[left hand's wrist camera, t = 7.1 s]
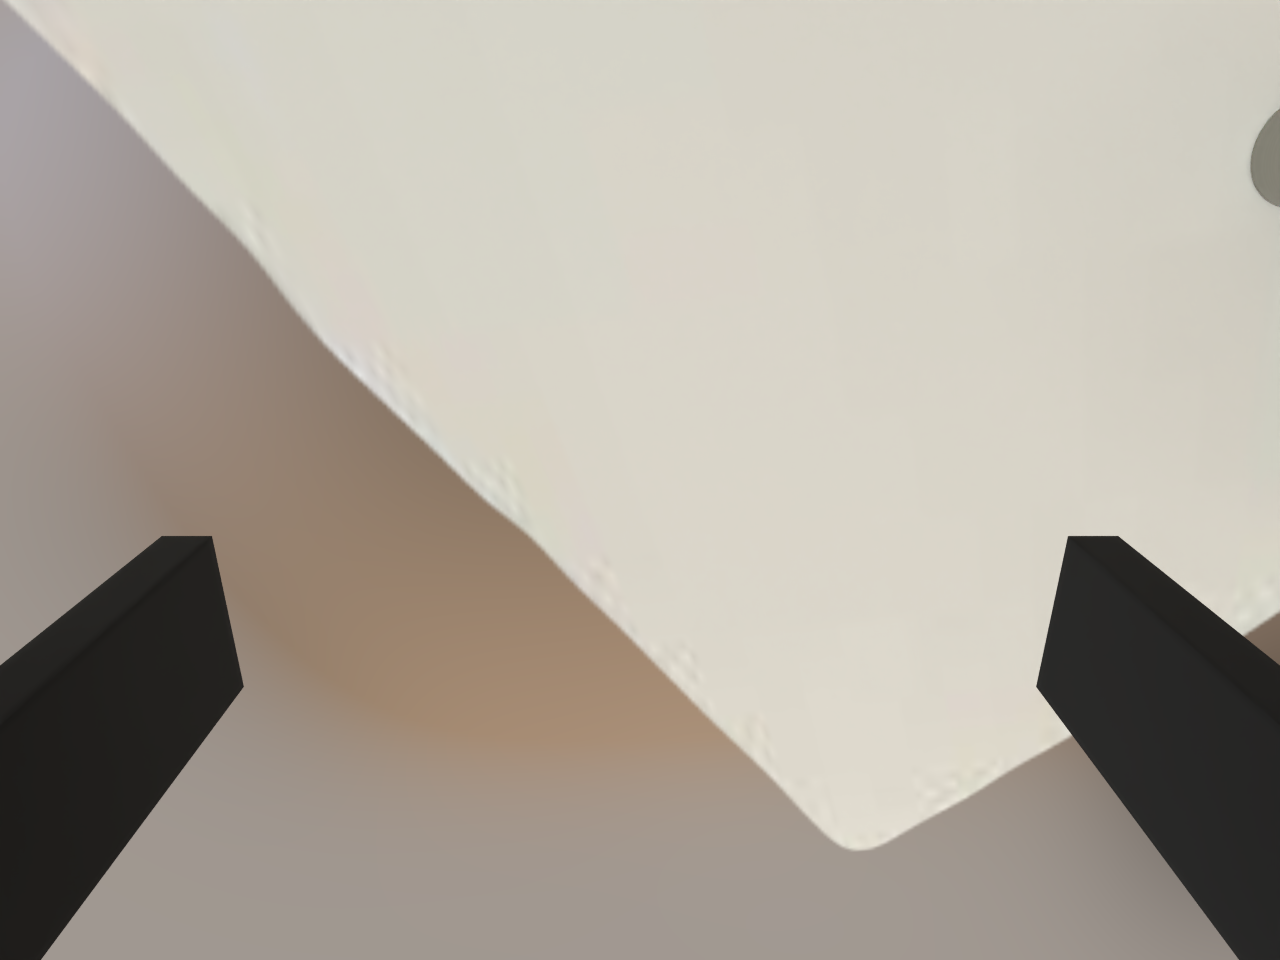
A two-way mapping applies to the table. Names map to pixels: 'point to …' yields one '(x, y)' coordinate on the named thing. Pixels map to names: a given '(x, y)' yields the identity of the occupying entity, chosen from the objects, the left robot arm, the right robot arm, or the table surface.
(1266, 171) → the bottle
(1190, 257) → the table surface
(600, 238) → the table surface
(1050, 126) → the table surface
